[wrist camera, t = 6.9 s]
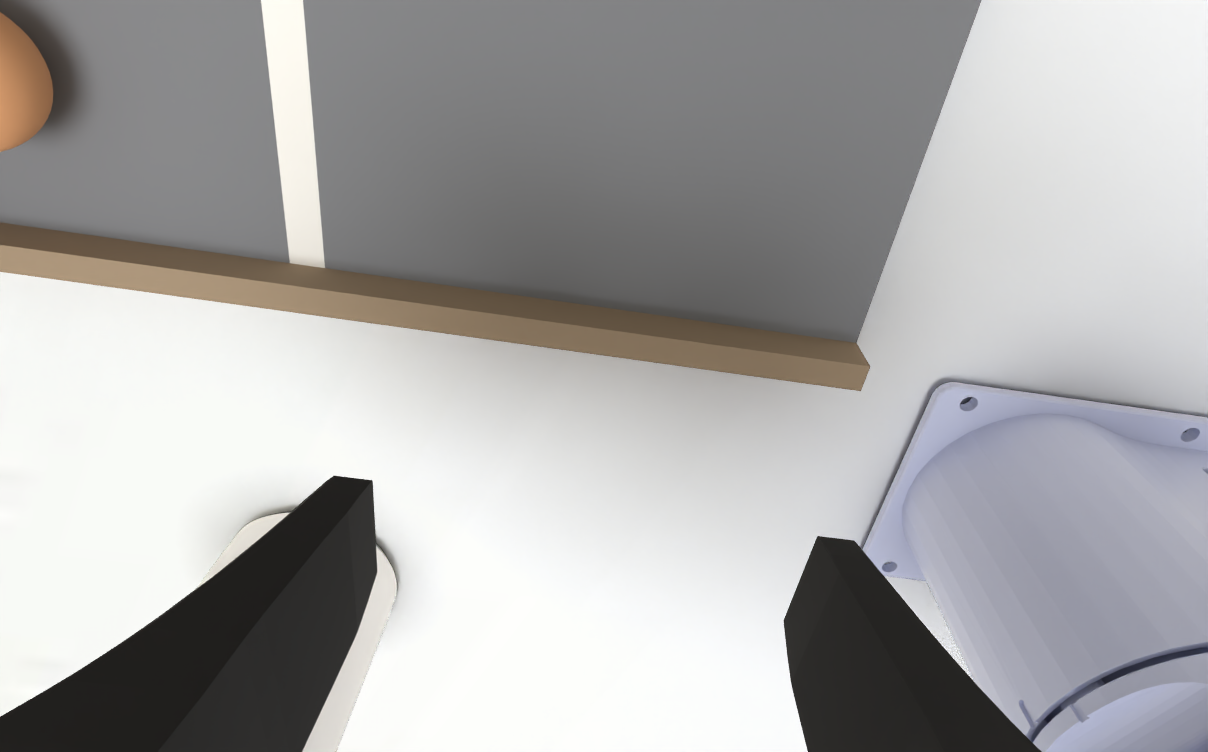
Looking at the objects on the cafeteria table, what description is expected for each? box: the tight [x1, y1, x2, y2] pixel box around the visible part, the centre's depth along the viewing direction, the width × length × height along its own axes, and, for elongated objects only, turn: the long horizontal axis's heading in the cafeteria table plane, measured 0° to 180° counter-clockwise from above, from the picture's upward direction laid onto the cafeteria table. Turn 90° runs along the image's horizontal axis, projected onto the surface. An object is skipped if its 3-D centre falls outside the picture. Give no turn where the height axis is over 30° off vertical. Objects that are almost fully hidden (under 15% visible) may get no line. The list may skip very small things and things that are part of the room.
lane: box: [0, 0, 981, 391], centre depth 16 cm, size 27×12×2 cm, turn 82°
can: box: [196, 512, 397, 752], centre depth 21 cm, size 6×6×12 cm
